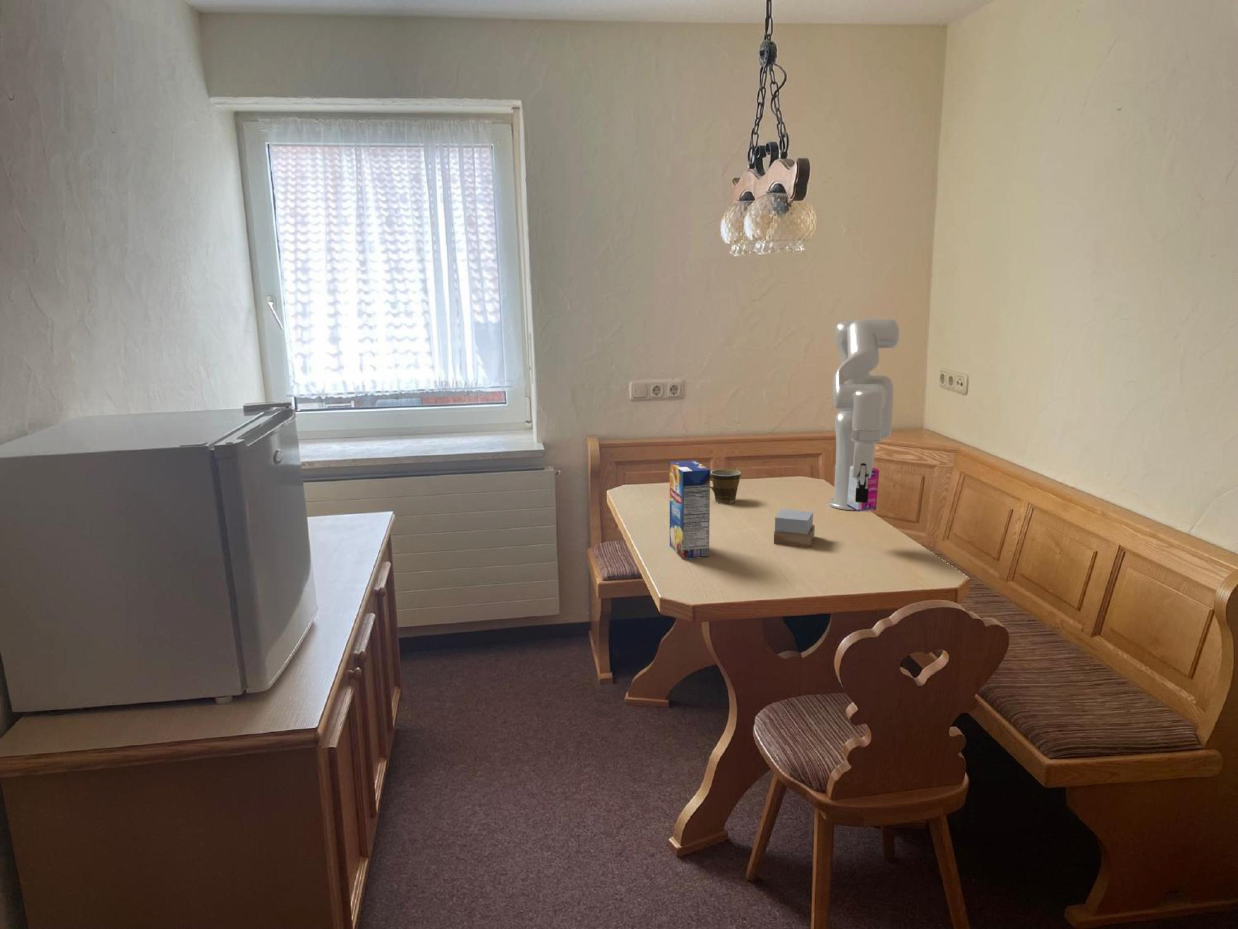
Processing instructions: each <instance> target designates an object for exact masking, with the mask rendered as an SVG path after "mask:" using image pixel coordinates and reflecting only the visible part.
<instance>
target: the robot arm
mask: <svg viewBox="0 0 1238 929" xmlns="http://www.w3.org/2000/svg"><path fill="white" fill-rule="evenodd" d="M899 328H900V327H899V325H898V323H897V321H896V320H894V319H892V318H862V319H861V318H860V319H854V320H853V319H852V320H843V321H840V322H839V323H837V325H836V326H835V331H834V337H835V338H834V339H835V344H836V346H837V350H838V352H839V355H840V361H841V364H840V365H839V366H838V368H837V369H836V371H835V373H834V374H833V378H832V403H833V406H834V408H835V409H836V410H838V411H839V412H838V413H837V414H836V415H835V417H834V431H835V432H834V433H835V446H836V447H835V466H834V467H835V468H834V469H835V470H834V486H833V487H834V488H833V490H834V491H833V498H831V499H829V500H828V505H829V506H830V507H831V508H835V509H839V510H845V511H855V510H854V509H852V508H850V507H848V506H847V501H848V488H849V475H850V467H851V466H853V474H852V477H853V478H855V477H857V476H858V477H857V478H858V479H857V487H856V497H855V501H856V502H861V503H867V502H868V490H869V488H868V479H870V478H871V475H872V470H873V468H874V465H875V456H876V444H877V443H880V442H881V441H882V440H883V441H885V440H888V438H890V436H891V434H892V430H893V409H894V385H893V381H892V379H891V378H890V377H889V376H887V375H870V372H872V371H873V370H874V369H875V368H877V367H878V364H879V362H880V355H879V354H880V352H879V349H894V348H896V346H897V345H898V343H899V340H900V329H899ZM860 471H861V472H860ZM859 472H860V476H859ZM865 475H867V477H865ZM865 480H866V481H865Z"/></svg>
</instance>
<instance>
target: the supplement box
mask: <svg viewBox="0 0 1238 929" xmlns="http://www.w3.org/2000/svg"><path fill="white" fill-rule="evenodd" d="M860 472H861V471H860ZM860 472H859V476H860ZM852 474H853V466H851V467H850V475H849V488H848V501H847V506H848V507H850V508H852V509H854V510H853V511H856V512H858V513H859V512H865V511H877V504H878V503H877V501H878V492H879V491H878V490H879V481H880V480H879V478H880V470H879V469H878V468H875V467H873V470H872V475H871V478H870V479H868V488H869V490H868V502H867V503H861V502H856V501H855V497H856V487H857V479H858V478H857V477H858V476H857V477H855V478H853V477H852ZM865 477H867V475H865ZM865 481H866V480H865Z"/></svg>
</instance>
